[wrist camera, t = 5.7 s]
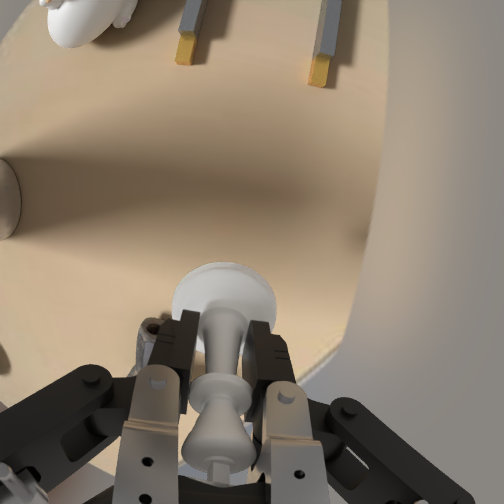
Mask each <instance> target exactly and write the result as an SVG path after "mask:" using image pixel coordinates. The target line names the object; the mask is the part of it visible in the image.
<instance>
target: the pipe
mask: <svg viewBox="0 0 504 504" xmlns="http://www.w3.org/2000/svg"><path fill="white" fill-rule="evenodd" d="M164 322H165V321H164V320H161V319H157V318H146V319H145V320H144V321H143V322H142V324H141V326H140V328H139V331H138V337H137V347H136V365H135V366H134V367H133V368H132V370H131V371H130V373H129V374H128V376H127V377H132V376H136V375H137V374H138V372H139V371H140V370H141V369H142V368H143V367H145V366H147V363H148V360H149V358H150V355H151V352H152V349H153V346H154V343H155V341H156V337H157V335H158V332H159V329H160V326H161V324H163V323H164Z"/></svg>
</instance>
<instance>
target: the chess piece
mask: <svg viewBox="0 0 504 504" xmlns="http://www.w3.org/2000/svg"><path fill="white" fill-rule="evenodd" d="M183 309H186V310H192V311H198V312H200V320H199V328H198V335H197V343H196V350H197V351H199V352H201V353H204V354H205V364H206V374H204V375H202V376H199V377H197V378H196V379H194V380H193V381H192V382H191V383H190V385H189V390H188V399H189V403H190V405H191V406H192V408H193V409H194V410H195V411H196V412H198V413H199V414H200V415H199V417H198V418H197V421H196V423H195V425H194V427H193V429H192V431H191V432H190V433H189V434H188V436H187V438H186V440H185V441H184V443H183V446H182V449H181V454H182V457H183V459H184V460H185V461H186V462H187V463H188V464H189V465H190V466H192V467H193V468H195V469H197V470H199V471H202V472H205V473H208V475H207V481H206V480H201V479H196V478H192V477H188V478H191V479H194V480H197V481H200V482H203V483H206V484H210V485H213V486H216V487H221V488H224V487H231V486H234V485H230V483H229V482H230V481H229V474H233V473H237V472H240V471H243V470H245V469H247V468H248V467H250V466H251V465H252V464H253V463H254V462H255V460H256V456H257V455H256V449H255V447H254V444H253V442H252V440H251V438H250V437H249V435H248V434H247V432H246V430H245V428H244V426H243V423H242V420H241V418H240V416H241V415H243V414H244V413H246V412H247V411H248V410H249V408H250V407H251V404H252V393H253V389H252V387H251V386H250V385H249V383H247V382H246V381H245V380H244V379H242V378H240V377H238V376H236V374H237V365H238V359H239V356H241V355H242V354H243V348H244V344H245V340H246V336H247V331H248V327H249V323H250V320H257V321H265V322H269V325H270V331H271V332H272V330H273V328H274V325H275V321H276V299H275V295H274V293H273V290H272V289H271V287H270V285H269V284H268V282H267V281H266V280H265V279H264V278H263V277H262V276H261V275H260V274H258V273H257V272H256V271H254V270H252V269H251V268H249V267H246V266H244V265H241V264H237V263H232V262H214V263H209V264H205V265H202V266H200V267H198V268H196V269H194V270H192V271H191V272H189V273H188V274H187V275H186V276H185V277H184V278H183V279H182V280H181V281H180V283H179V284H178V286H177V288H176V290H175V292H174V295H173V300H172V319H173V320H179V321H180V318H181V314H182V311H183Z"/></svg>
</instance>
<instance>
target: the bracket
mask: <svg viewBox="0 0 504 504" xmlns="http://www.w3.org/2000/svg"><path fill="white" fill-rule="evenodd" d="M207 1H208V0H187V2H186V5H185V8H184V12H183V15H182V19H181V23H180V26H179V30H178V31H179V33H180V35H181V37H180V41H179V45H178V49H177V54H176V58H175V62H176V63H177V64H179V65H192V61H193V56H194V52H195V48H196V43H197V39H198V35H199V31H200V27H201V23H202V20H203V16H204V12H205V8H206V5H207ZM341 4H342V0H322V3H321V10H320V16H319V22H318V29H317V35H316V41H315V47H314V53H313V59H312V65H311V71H310V76H309V82H308V84H309V85H313V86H317V87H320V88H322V87H324V86H325V85H326V80H327V74H328V68H329V62H330V59H332V58H333V57H334V54H335V48H336V41H337V34H338V27H339V19H340V12H341Z"/></svg>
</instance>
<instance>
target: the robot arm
mask: <svg viewBox="0 0 504 504" xmlns="http://www.w3.org/2000/svg"><path fill="white" fill-rule="evenodd" d="M20 212H21V197H20V190H19V185H18V182H17V179H16V176H15V174H14V172H13V170H12V169H11V167H10V166H9V165H8V164H7V163H6V162H5V161H3V160H2V159H0V241H2V240H4V239H5V238H7V237H9V236H10V235H11V234H12V233H13V232H14V230H15V228H16V226H17V224H18V221H19V217H20ZM199 320H200V312H198V311H192V310H186V309H183V311H182V314H181V318H180V321H179V320H173V319H168V320H166V321H165V322H164V323H163V324H161V326H160V329H159V332H158V335H157V337H156V341H155V343H154V346H153V349H152V352H151V355H150V358H149V360H148V363H147V366H145V367H143V368H142V369H141V370H140V371H139V372H138V374H137V375H136V376H132V377H125V378H112V376H111V374H110V372H109V371H108V370H107V369H105V368H104V367H102V366H99V365H93V364H89V365H83V366H81V367H78V368H77V369H75V370H73V371H72V372H70V373H68V374H67V375H65V376H63V377H61V378H60V379H58V380H56V381H55V382H53V383H51V384H49V385H48V386H46V387H44V388H43V389H41V390H39V391H37V392H36V393H34V394H32V395H31V396H29V397H27V398H25V399H24V400H22V401H20V402H18V403H17V404H15V405H13V406H12V407H10V408H8V409H6V410H5V411H3V412H1V413H0V504H49V501H48V496H47V494H46V493H48V492H49V491H51V490H52V489H53V488H55V487H56V486H57V485H59V484H60V483H61V482H63V481H64V480H65V479H67V478H68V477H69V476H70V475H72V474H73V473H74V472H76V471H77V470H78V469H80V468H81V467H82V466H83V465H85V464H86V463H87V462H89V461H90V460H91V459H92V458H94V457H95V456H96V455H97V454H99V453H100V452H101V451H102V450H104V449H105V448H106V447H107V446H109V445H110V444H111V443H112V442H114V441H115V440H116V439H117V438H118V437H119V436H121V441H120V447H119V454H118V460H117V467H116V475H115V483H114V485H113V486H111V487H109V488H107V489H106V490H104V491H103V492H101V493H100V494H98V495H96V496H95V497H93V498H91V499H90V500H88V501H86V502H85V503H83V504H330V498H329V490H328V483H329V485H330V486H332V488H333V489H334V490H335V491H336V492H337V493H338V494H339V495H340V496H341V497H342V498H343V499H344V500H345V501H346V502H347V503H348V504H475V501H474V498H473V497H472V496H471V494H469V493H468V492H467V491H466V490H464V489H463V488H462V487H460V486H459V485H458V484H457V483H455V482H454V481H453V480H452V479H450V478H449V477H448V476H447V475H445V474H444V473H443V472H442V471H440V470H439V469H438V468H437V467H435V466H434V465H433V464H432V463H430V462H429V461H428V460H427V459H426V458H424V457H423V456H422V455H421V454H420V453H418V452H417V451H416V450H414V449H413V448H412V447H411V446H410V445H409V444H407V443H406V442H405V441H404V440H403V439H402V438H400V437H399V436H398V435H397V434H396V433H395V432H393V431H392V430H391V429H390V428H389V427H387V426H386V425H385V424H384V423H383V422H382V421H380V420H379V419H378V418H377V417H376V416H375V415H374V414H372V413H371V412H370V411H369V410H368V409H367V408H365V407H364V406H363V405H362V404H361V403H360V402H358V401H357V400H354V399H352V398H347V397H341V398H337V399H335V400H334V401H332V403H331V405H327V404H323V403H320V402H316V401H313V400H310V399H309V398H307V395H306V393H305V391H304V390H303V389H302V388H301V387H300V386H298V385H297V384H296V381H295V377H294V372H293V368H292V364H291V360H290V356H289V353H288V348H287V344H286V342H285V341H284V340H283V339H282V337H281V336H280V335H274V334H271V331H270V325H269V322H265V321H257V320H250V323H249V327H248V331H247V336H246V340H245V344H244V348H243V354H242V378H243V379H244V380H245V381H246V382H247V383H249V385H250V386H251V387H252V389H253V393H252V404H251V407H250V408H249V410H248V411H247V412H246V413H244V420H245V422H253V430H252V433H251V437H250V438H251V440H252V442H253V444H254V447H255V449H256V455H257V456H256V460H255V462H254V463H253V464H252V465H251V466H250V467H248V478H247V483H246V484H245V485H239V486H231V487H224V488H221V487H216V486H213V485H210V484H206V483H203V482H200V481H197V480H194V479H191V478H188V477H186V476H181V475H178V424H179V419H180V414H186V412H187V405H188V390H189V385H190V383H191V377H192V370H193V364H194V357H195V351H196V343H197V335H198V328H199ZM347 447H349V448H350V449H351V450H352V451H353V452H354V453H355V454H356V455H357V456H358V457H359V458H360V459H361V460H362V461H364V462H365V463H366V464H367V466H368V467H369V469H367V468H366V467H365V466H364V465H363V464H362V463H361V462H360V461H359V460H358V459H357V458H356V457H355V456H354V455H353V454H352V453H350V451H348V450H347V449H346V448H347Z"/></svg>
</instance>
